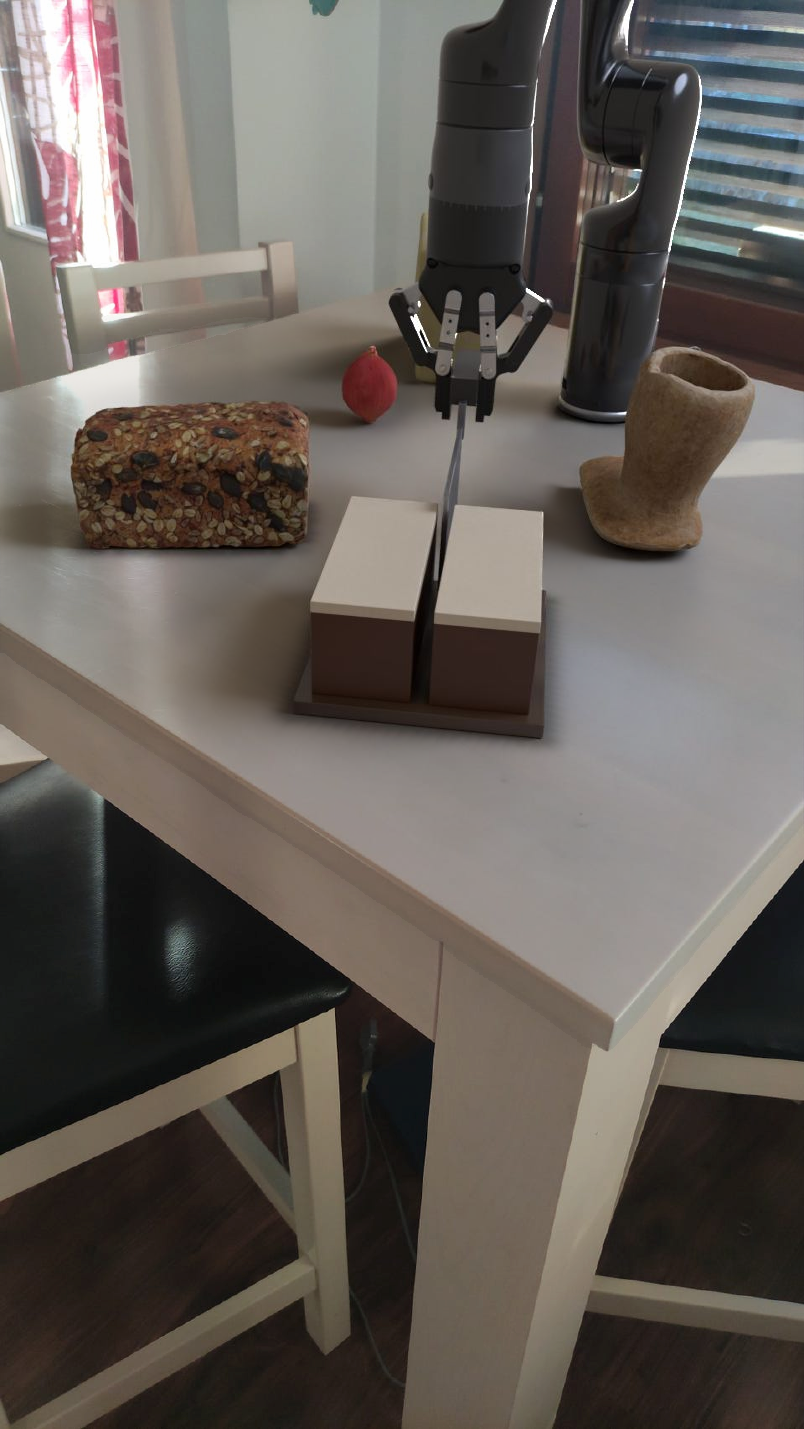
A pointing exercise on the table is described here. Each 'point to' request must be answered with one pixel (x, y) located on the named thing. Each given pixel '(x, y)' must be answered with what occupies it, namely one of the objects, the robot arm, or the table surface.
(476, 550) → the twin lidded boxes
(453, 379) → the knife
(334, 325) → the table surface
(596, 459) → the stone cup
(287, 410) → the bread
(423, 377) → the cheese
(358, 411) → the onion
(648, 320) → the robot arm
